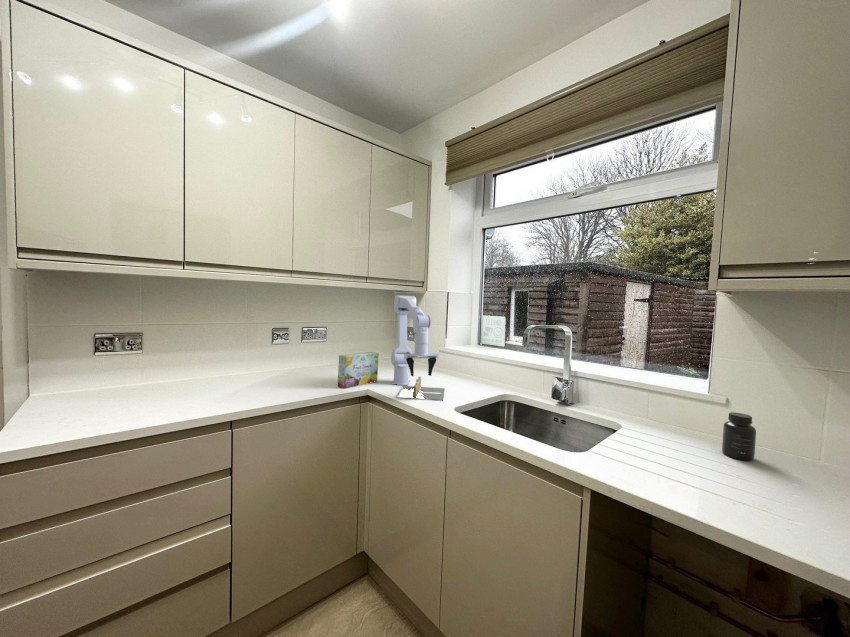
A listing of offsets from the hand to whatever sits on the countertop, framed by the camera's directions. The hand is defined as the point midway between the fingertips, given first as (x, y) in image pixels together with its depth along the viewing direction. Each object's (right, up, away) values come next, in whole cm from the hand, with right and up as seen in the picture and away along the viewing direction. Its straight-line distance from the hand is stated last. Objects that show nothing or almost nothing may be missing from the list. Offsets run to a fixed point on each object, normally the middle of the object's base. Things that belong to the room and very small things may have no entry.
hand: (421, 375), depth 142 cm
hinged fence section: (-2, -9, +4) cm, 10 cm away
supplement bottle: (+91, -15, -46) cm, 103 cm away
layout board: (-1, -10, +10) cm, 13 cm away
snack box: (-31, -8, +22) cm, 39 cm away
